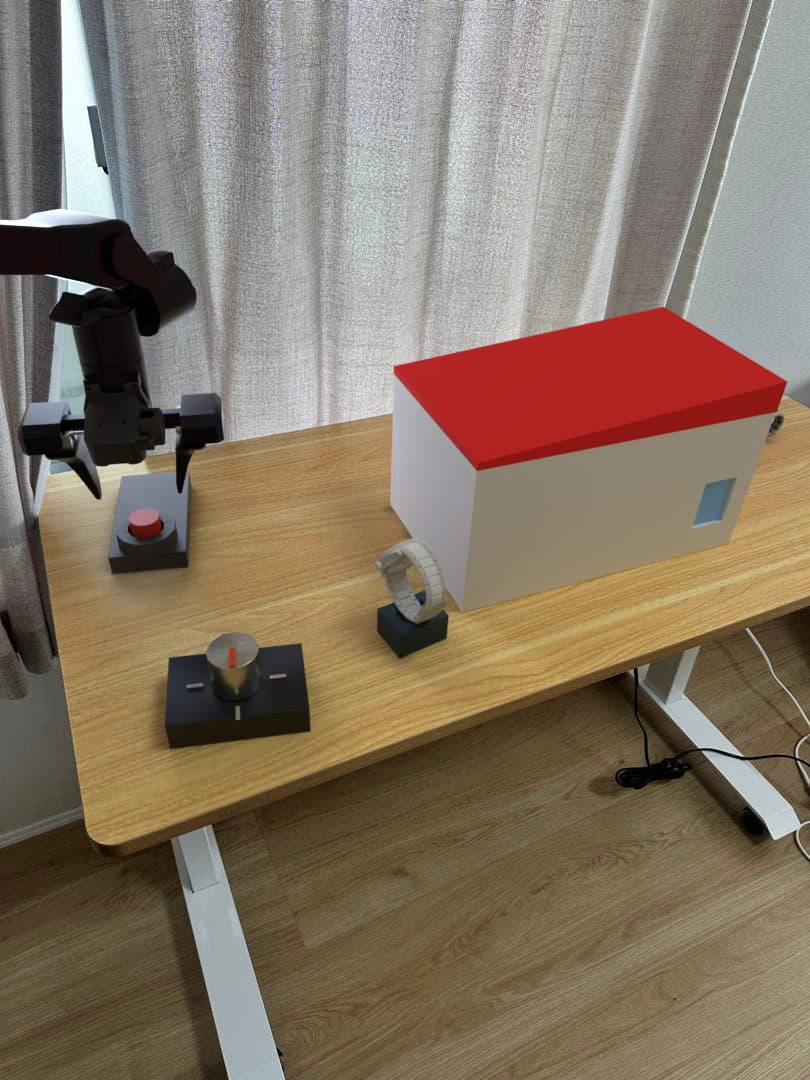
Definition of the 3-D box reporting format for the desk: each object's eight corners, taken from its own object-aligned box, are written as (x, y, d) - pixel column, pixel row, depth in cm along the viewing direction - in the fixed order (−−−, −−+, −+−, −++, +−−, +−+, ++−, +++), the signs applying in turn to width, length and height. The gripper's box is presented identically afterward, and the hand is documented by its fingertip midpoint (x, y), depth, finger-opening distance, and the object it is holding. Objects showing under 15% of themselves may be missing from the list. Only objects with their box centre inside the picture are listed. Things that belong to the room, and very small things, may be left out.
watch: (413, 601, 84) (417, 517, 78) (456, 649, 79) (465, 562, 72) (366, 620, 82) (367, 534, 75) (408, 670, 77) (412, 582, 70)
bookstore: (731, 543, 94) (789, 381, 82) (462, 612, 83) (480, 437, 71) (629, 454, 110) (665, 306, 97) (389, 503, 98) (394, 343, 86)
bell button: (161, 537, 86) (158, 524, 85) (130, 540, 85) (127, 527, 84) (162, 520, 88) (160, 507, 87) (132, 522, 88) (129, 509, 87)
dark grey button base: (188, 570, 87) (183, 541, 85) (111, 577, 86) (104, 547, 84) (191, 486, 100) (187, 458, 98) (124, 490, 99) (118, 463, 96)
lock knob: (211, 666, 72) (206, 631, 70) (261, 661, 73) (257, 626, 70) (210, 703, 69) (204, 668, 66) (263, 697, 70) (259, 663, 67)
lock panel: (169, 752, 68) (164, 727, 66) (173, 677, 75) (168, 653, 73) (311, 734, 70) (309, 710, 68) (302, 662, 77) (301, 639, 75)
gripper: (-16, 402, 67) (32, 550, 76) (214, 389, 70) (232, 533, 79) (10, 346, 75) (50, 485, 85) (214, 336, 78) (230, 472, 88)
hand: (140, 494), depth 84 cm, fingers open, 8 cm apart
